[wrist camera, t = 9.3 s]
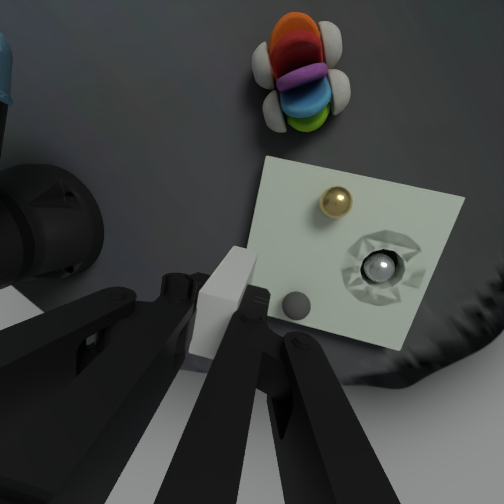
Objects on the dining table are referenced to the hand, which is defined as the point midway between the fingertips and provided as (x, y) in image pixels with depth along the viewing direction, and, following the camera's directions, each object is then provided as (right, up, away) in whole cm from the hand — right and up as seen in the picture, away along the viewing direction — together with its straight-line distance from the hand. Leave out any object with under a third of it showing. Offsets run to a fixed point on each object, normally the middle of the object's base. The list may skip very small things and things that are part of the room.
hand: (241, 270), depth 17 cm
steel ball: (+15, -1, +15) cm, 21 cm away
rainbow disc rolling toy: (+6, +19, +13) cm, 23 cm away
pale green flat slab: (+10, +1, +17) cm, 20 cm away
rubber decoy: (+6, -5, +15) cm, 17 cm away
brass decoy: (+9, +6, +11) cm, 16 cm away
